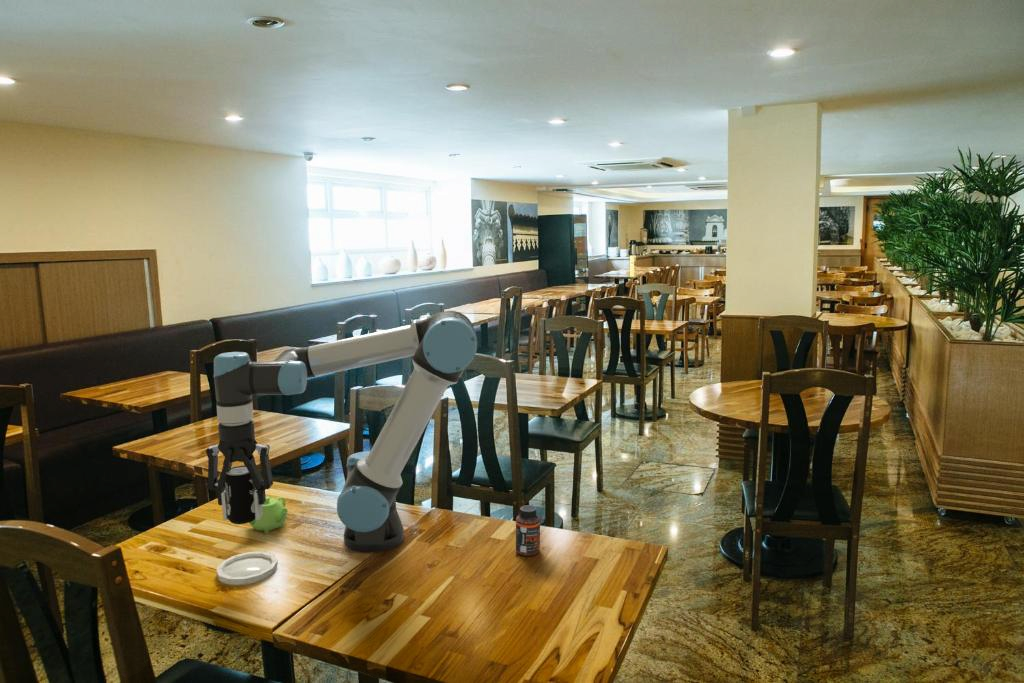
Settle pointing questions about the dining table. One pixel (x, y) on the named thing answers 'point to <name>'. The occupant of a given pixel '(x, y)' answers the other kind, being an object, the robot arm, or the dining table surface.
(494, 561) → the dining table surface
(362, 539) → the robot arm
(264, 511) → the green rounded body
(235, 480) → the beverage can
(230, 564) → the saucer
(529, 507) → the supplement bottle
